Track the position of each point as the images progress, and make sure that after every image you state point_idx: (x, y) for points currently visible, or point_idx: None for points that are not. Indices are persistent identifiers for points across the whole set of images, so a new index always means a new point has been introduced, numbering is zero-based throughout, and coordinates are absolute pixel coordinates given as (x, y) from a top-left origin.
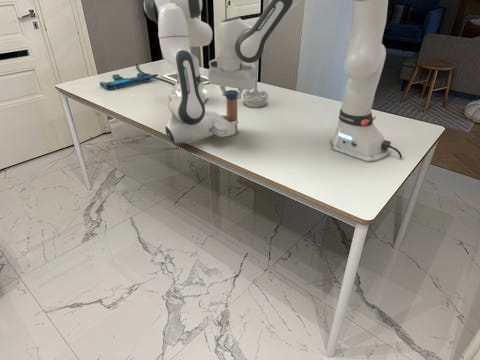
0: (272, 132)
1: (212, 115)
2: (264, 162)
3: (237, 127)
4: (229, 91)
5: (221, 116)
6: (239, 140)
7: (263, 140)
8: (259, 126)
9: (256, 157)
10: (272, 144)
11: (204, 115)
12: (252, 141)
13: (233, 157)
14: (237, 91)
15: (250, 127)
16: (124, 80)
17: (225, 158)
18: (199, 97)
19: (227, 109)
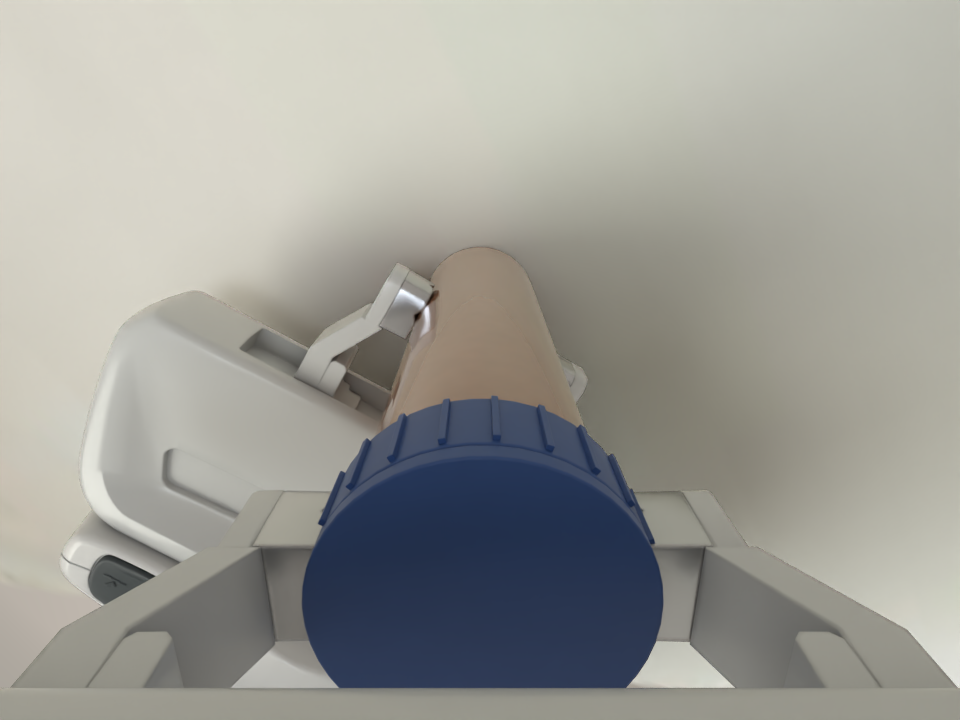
0: (890, 95)
1: (245, 458)
2: (925, 619)
3: (534, 292)
4: (399, 606)
5: (362, 430)
6: (624, 419)
7: (837, 320)
8: (697, 3)
9: (852, 588)
10: (938, 355)
11: (256, 671)
12: (742, 384)
13: (692, 650)
14: (613, 511)
15: (606, 91)
16: None
17: (646, 679)
18: None
19: None
